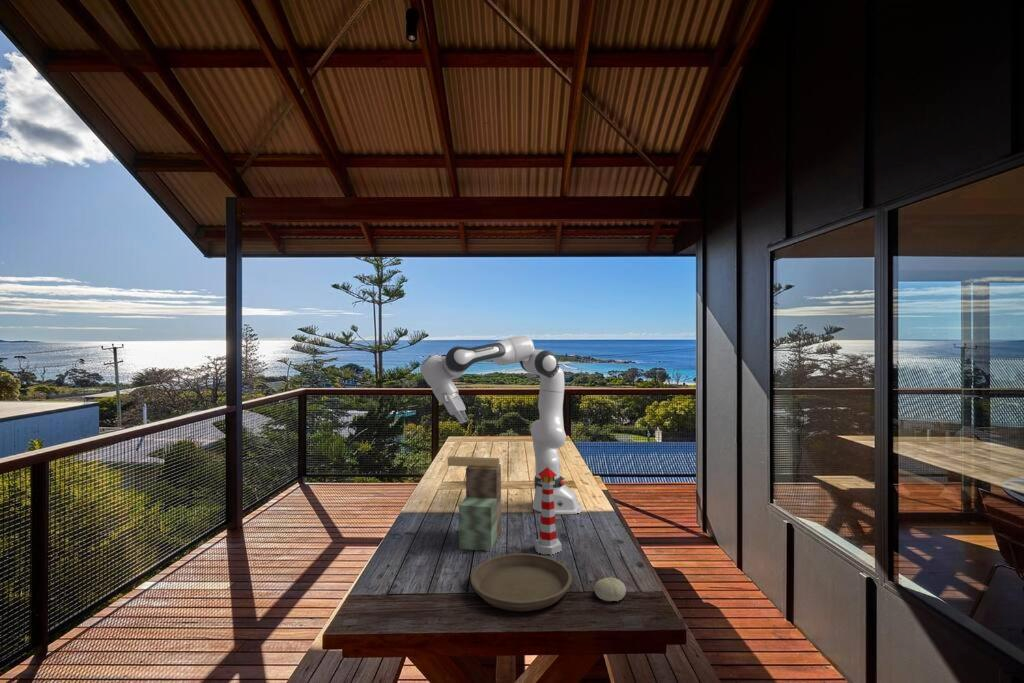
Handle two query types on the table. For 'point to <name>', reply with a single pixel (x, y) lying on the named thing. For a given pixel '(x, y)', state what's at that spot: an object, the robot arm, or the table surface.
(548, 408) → the robot arm
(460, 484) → the table surface
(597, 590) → the sea urchin shell
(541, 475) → the decorative lighthouse
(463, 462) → the brass bar
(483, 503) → the two-tone block tower
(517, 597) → the plant saucer
